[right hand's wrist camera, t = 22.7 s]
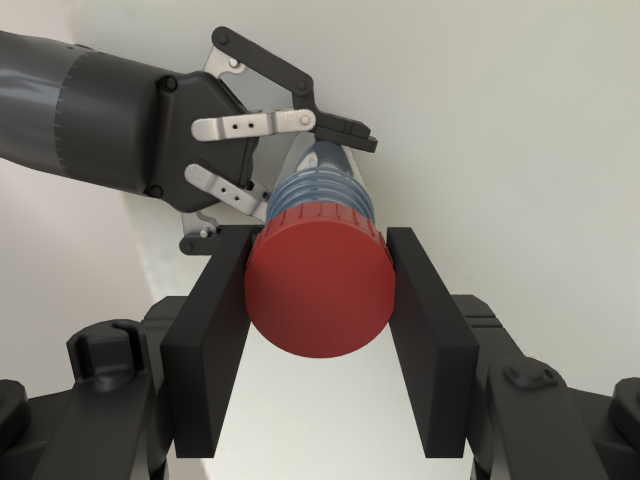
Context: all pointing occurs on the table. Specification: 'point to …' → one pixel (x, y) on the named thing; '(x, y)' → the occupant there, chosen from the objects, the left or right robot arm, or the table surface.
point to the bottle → (319, 178)
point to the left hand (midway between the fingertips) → (361, 186)
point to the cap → (319, 281)
